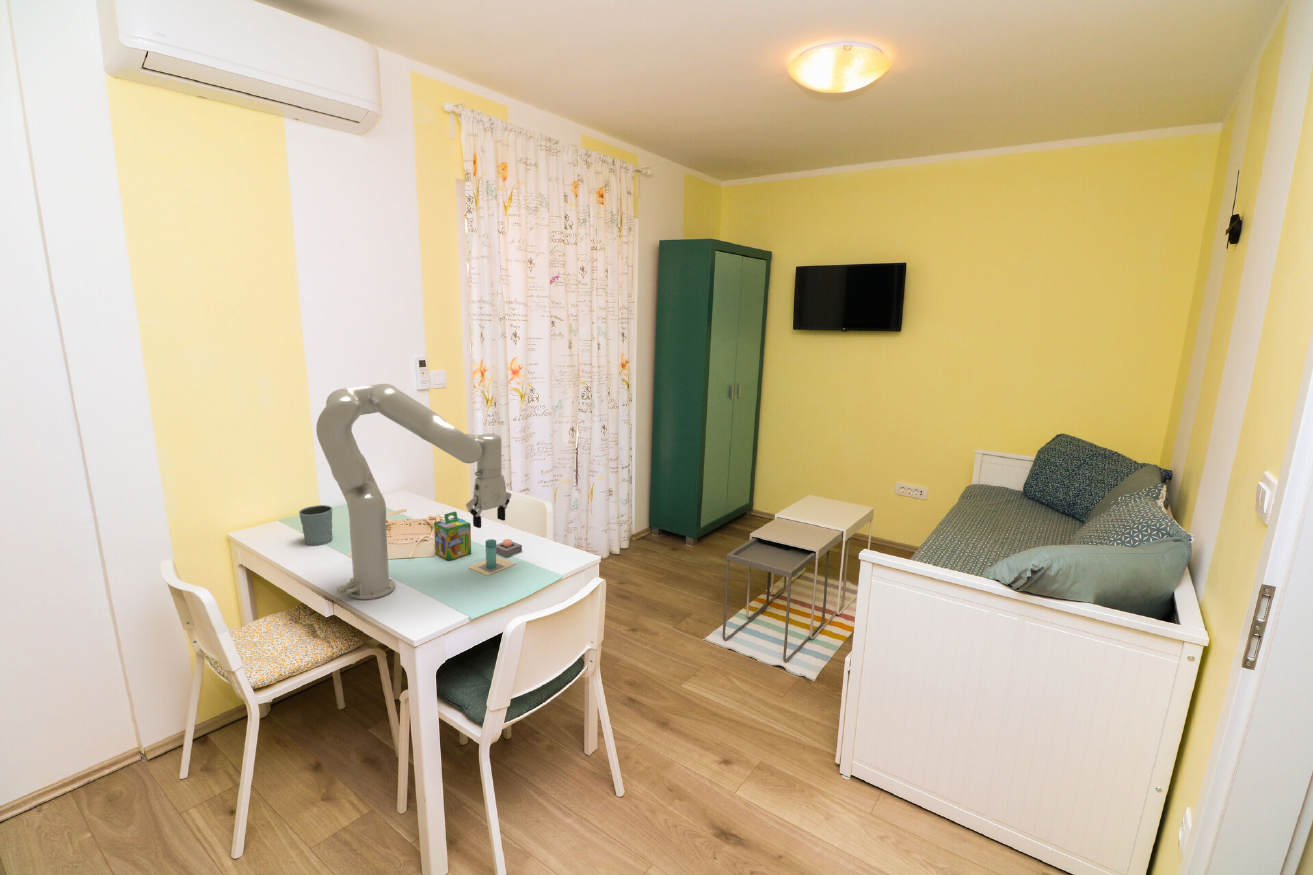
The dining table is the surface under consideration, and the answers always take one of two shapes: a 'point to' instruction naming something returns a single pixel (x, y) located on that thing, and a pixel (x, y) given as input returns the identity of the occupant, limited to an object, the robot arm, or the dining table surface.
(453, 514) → the chalk box
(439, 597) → the dining table surface
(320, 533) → the teal grey cup
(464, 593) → the dining table surface
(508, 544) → the button
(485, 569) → the sheet
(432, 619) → the dining table surface
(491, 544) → the teal cylinder
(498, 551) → the button collar
